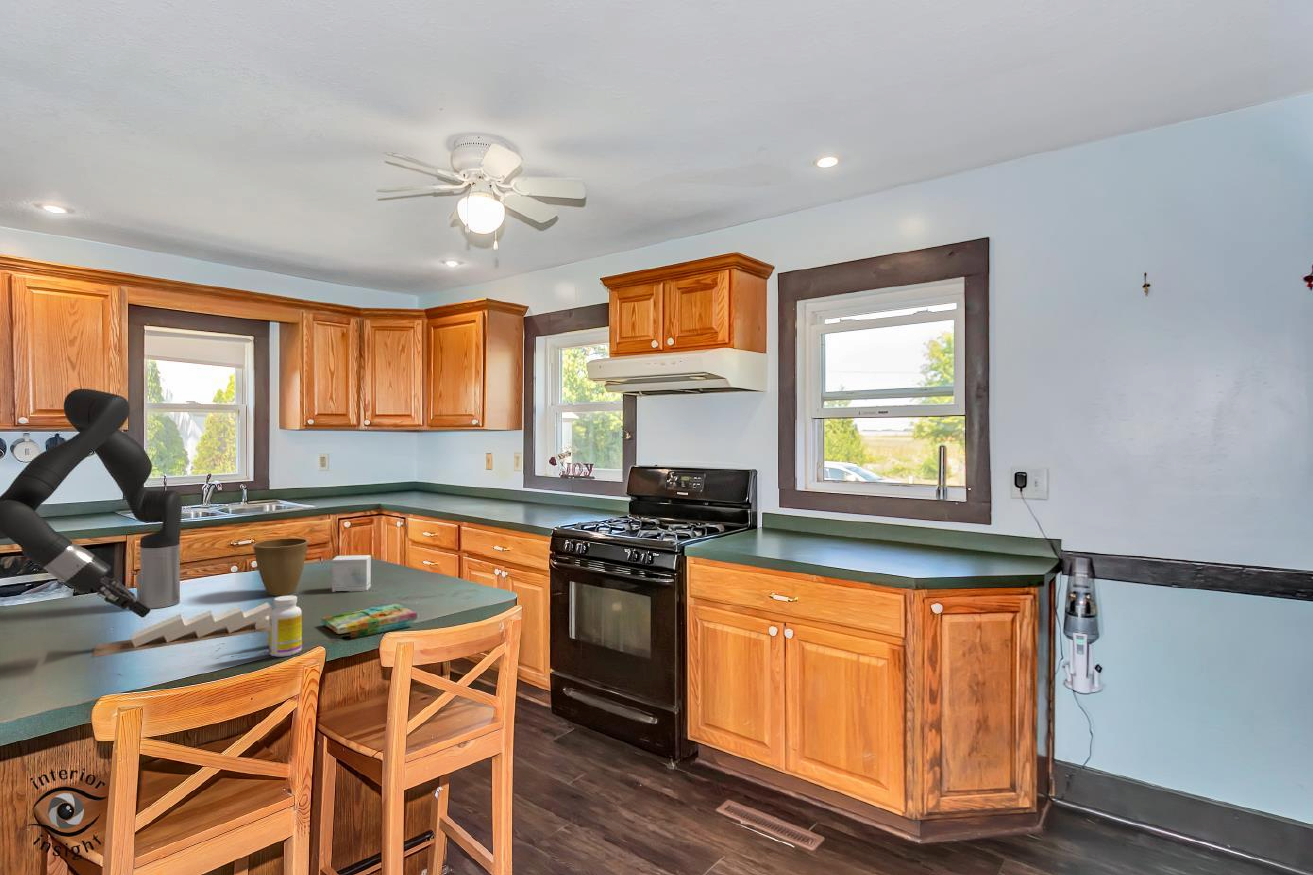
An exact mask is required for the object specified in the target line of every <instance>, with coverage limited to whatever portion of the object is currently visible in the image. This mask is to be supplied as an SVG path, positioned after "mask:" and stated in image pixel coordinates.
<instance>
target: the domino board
mask: <svg viewBox="0 0 1313 875" xmlns="http://www.w3.org/2000/svg"><path fill="white" fill-rule="evenodd" d="M266 631H269V627H268V628H261V629H255V627H254V625H253V623H251V624H249V625H247V626H244V627H242V628H240V629H238V630H236V631H233V632H231V633H229V631H228V629H227V627H226V626H225V627H223V628H220V629H218V630H216V631H213V632H211V633H209V634H206V635H204V636H202V637H200V638H198V636H197V634H196V631H193V632H191V633H188V634H186V635H184V636H181V637H179V638H177V639H174V640H172V641H170V642H168V643H167V641H166V639H165V637H164V635H163V636H161V637H158V638H156V639H154V640H151V641H149V642H147V643H144V644H142V645H140V646H137V647H134V645H133V643H132V640H131V639H125V640H120V641H111V642H105V643H98V644H95V645H94V649H93V652H92V655H91V658H96V657H103V656H108V655H115V654H116V655H117V654H123V653H130V652H136V651H142V650H147V649H148V650H149V649H153V648H154V649H155V648H161V647H168V646H175V645H181V644H189V643H196V642H201V641H206V640H209V641H210V640H215V639H219V638H220V639H221V638H228V637H233V636H239V635H246V634H247V635H248V634H255V633H258V632H259V633H260V632H261V633H262V632H266Z"/></svg>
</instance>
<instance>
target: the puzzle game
mask: <svg viewBox="0 0 1313 875" xmlns="http://www.w3.org/2000/svg"><path fill="white" fill-rule="evenodd" d="M417 617H418V614H417V612H415V611H412V610H411V609H409V608H406V607H404V606H403V605H401V604H399V603H392V604H388V605H383V606H377V607H376V606H373V607H371V606H370V607H369V608H367V609H361V610H357V611H351V612H346V613H340V614H336V615H331V616H330V615H329V616H325V617H321V620H320V622H321V623H322V624H323V625H324V626H326V627H327V628H329V629H330V630H331V631H333V632H335V633H336V634H339V635H342V634H343V635H344V634H347V637H349V638H351V639H355V638H360V637H365V636H369V635H375V634H380V633H384V632H390V631H394V630H400V629H404V628H408V627H409V628H410V627H412V625H413V623H414V622H415V621H416V620H417Z"/></svg>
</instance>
